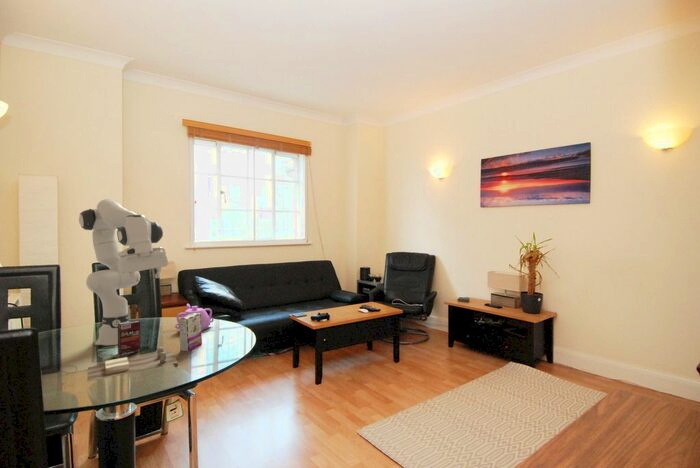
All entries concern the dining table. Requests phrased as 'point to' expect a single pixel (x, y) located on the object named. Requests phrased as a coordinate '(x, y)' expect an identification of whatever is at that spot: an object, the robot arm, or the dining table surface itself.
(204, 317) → the teapot
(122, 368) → the birch plate
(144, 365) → the board
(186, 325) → the candy bar box
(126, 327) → the supplement box
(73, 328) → the dining table surface
